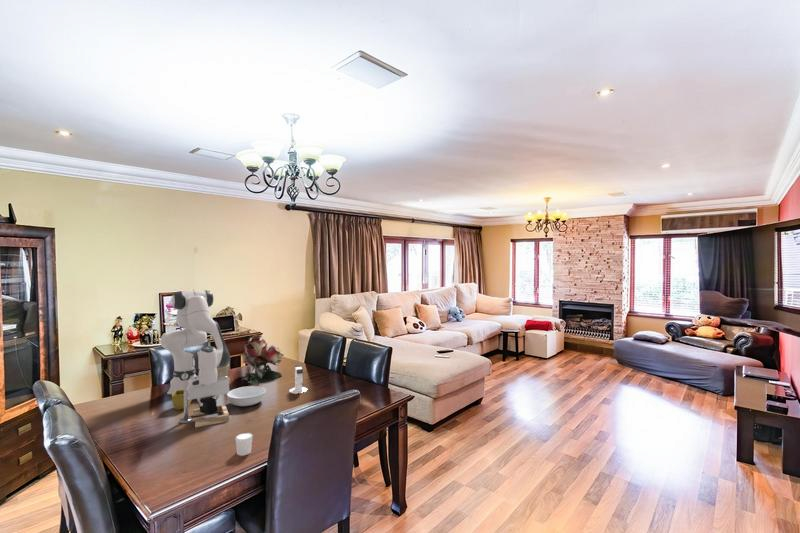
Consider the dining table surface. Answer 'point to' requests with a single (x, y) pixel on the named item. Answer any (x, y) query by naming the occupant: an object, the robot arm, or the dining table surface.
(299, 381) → the white post stand
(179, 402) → the flower pot
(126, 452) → the dining table surface
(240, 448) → the shot glass
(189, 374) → the robot arm
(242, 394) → the serving bowl
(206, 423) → the wooden frame
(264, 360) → the rose bouquet
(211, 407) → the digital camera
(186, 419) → the hook post
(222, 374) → the plant pot
